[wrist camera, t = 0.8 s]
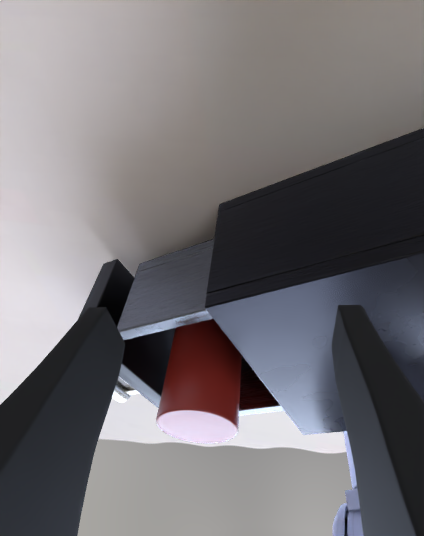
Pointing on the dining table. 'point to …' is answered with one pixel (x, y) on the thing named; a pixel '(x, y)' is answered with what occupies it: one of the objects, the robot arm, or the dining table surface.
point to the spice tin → (201, 385)
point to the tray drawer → (163, 321)
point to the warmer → (323, 273)
